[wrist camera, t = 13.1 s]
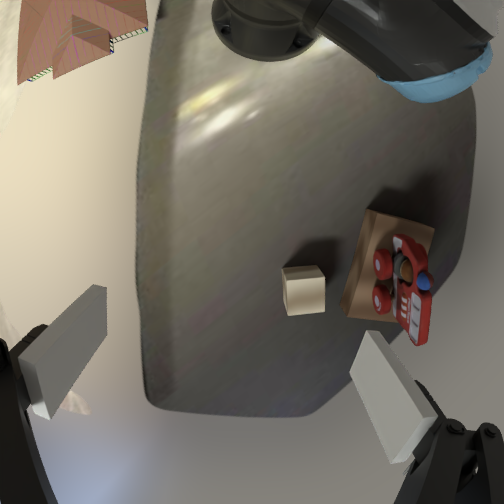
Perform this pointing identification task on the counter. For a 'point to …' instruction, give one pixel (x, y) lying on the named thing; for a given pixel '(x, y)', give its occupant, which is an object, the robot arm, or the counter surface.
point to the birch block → (303, 290)
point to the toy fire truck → (405, 286)
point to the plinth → (362, 270)
